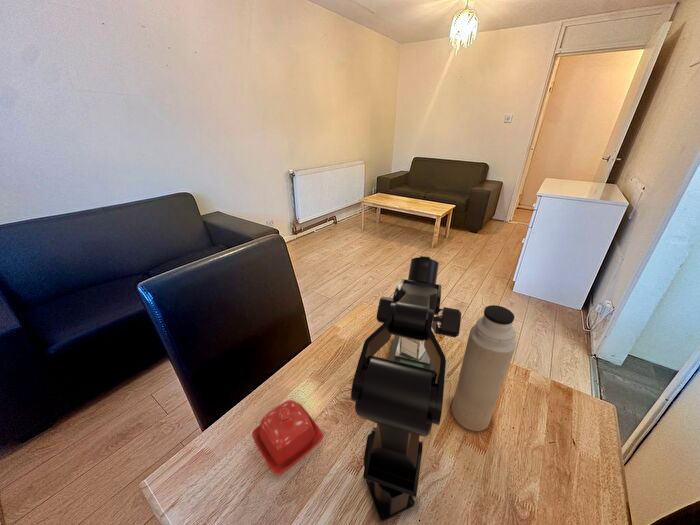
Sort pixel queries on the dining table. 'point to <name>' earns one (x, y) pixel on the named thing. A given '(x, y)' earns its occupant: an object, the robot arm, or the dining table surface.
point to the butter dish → (286, 436)
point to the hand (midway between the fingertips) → (417, 321)
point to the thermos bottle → (484, 368)
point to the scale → (403, 358)
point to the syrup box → (412, 347)
